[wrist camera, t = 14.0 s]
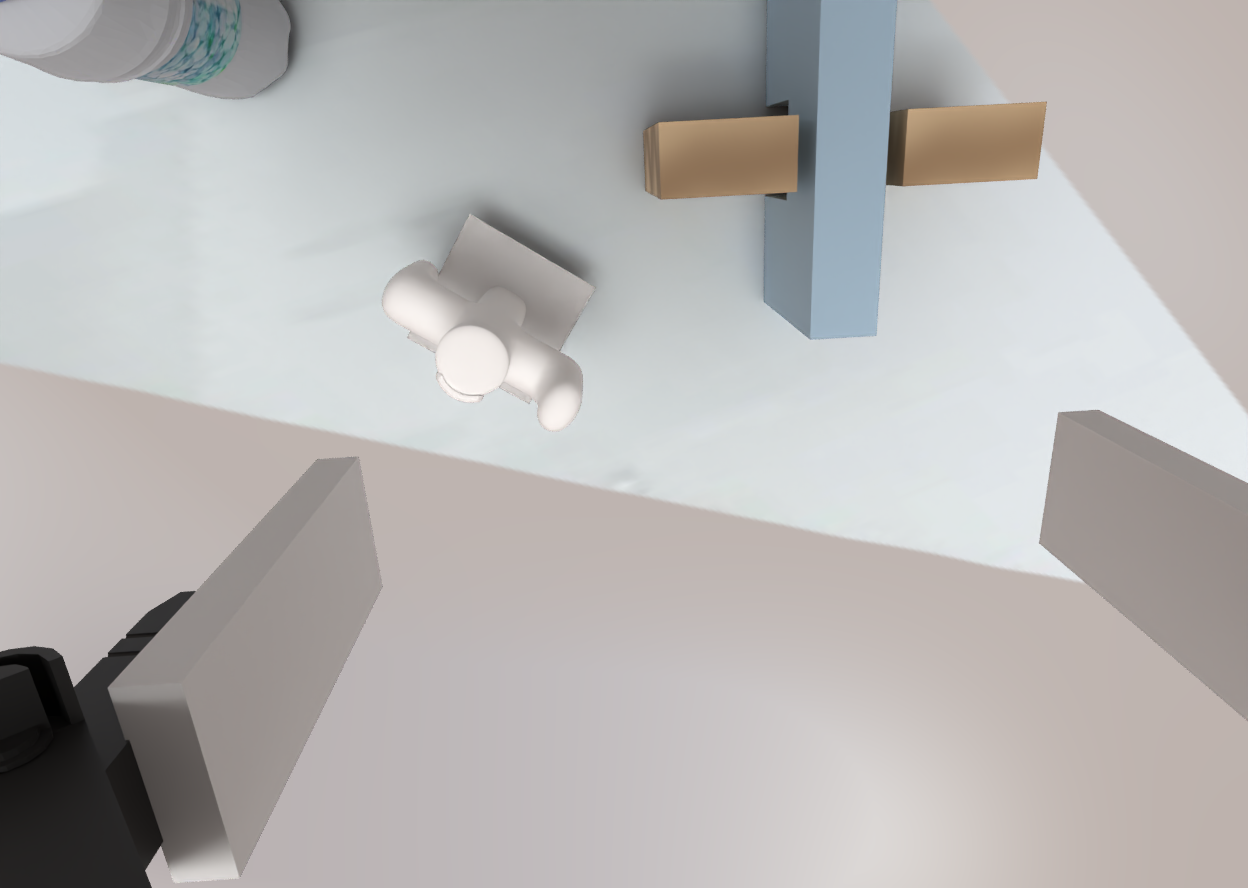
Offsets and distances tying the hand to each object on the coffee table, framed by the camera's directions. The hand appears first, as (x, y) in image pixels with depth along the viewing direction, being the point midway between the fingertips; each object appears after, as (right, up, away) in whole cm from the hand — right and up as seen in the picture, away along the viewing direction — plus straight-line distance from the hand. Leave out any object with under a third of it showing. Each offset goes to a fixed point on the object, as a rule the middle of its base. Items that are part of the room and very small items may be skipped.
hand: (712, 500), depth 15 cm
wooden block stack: (+7, +17, +27) cm, 33 cm away
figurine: (-8, +9, +29) cm, 32 cm away
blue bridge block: (+7, +17, +27) cm, 33 cm away
